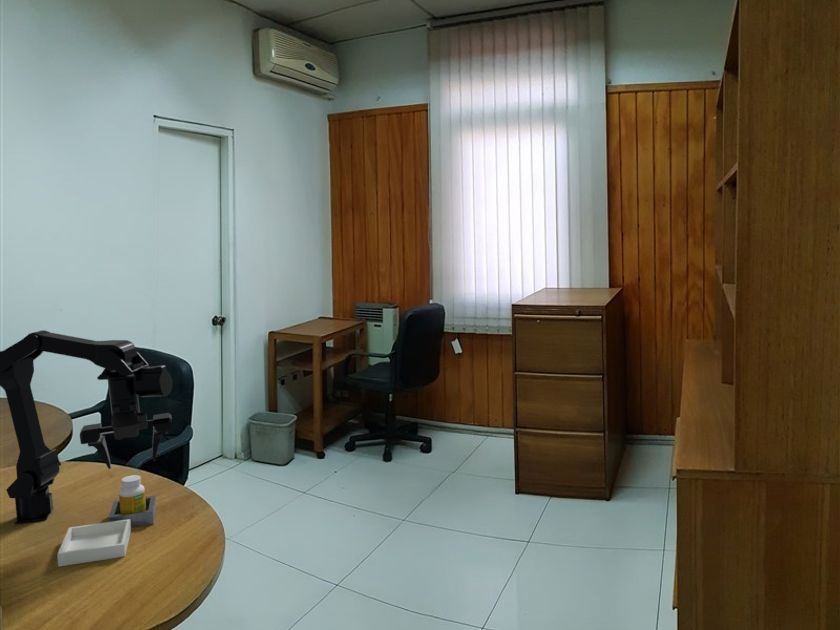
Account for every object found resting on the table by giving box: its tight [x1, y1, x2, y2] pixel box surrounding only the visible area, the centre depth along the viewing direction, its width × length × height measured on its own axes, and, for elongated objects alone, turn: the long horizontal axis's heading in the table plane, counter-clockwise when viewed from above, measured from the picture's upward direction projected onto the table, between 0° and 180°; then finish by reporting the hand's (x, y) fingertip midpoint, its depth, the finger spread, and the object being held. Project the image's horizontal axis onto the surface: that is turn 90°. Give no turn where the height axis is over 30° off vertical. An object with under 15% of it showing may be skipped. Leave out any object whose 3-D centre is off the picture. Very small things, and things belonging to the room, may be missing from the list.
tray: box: [56, 519, 132, 568], centre depth 132 cm, size 12×12×3 cm
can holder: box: [108, 495, 157, 528], centre depth 145 cm, size 9×9×3 cm
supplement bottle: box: [118, 474, 146, 514], centre depth 145 cm, size 5×5×10 cm
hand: (132, 464), depth 143 cm, fingers open, 9 cm apart
